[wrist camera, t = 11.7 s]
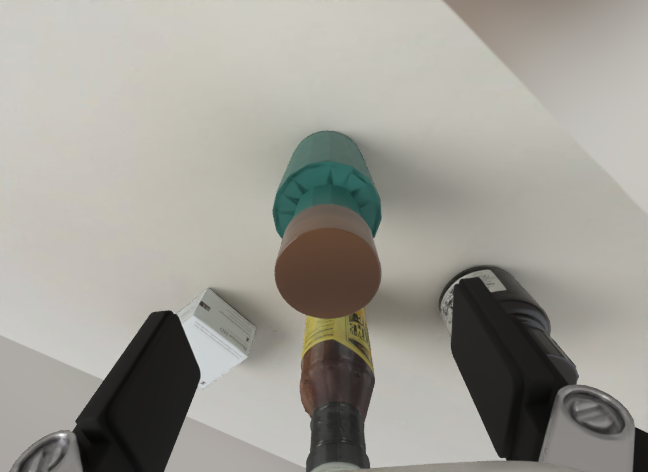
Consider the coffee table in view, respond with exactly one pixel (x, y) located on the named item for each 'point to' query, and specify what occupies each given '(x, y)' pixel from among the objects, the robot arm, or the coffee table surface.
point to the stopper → (327, 262)
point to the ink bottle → (513, 313)
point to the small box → (215, 335)
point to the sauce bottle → (337, 391)
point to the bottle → (326, 180)
